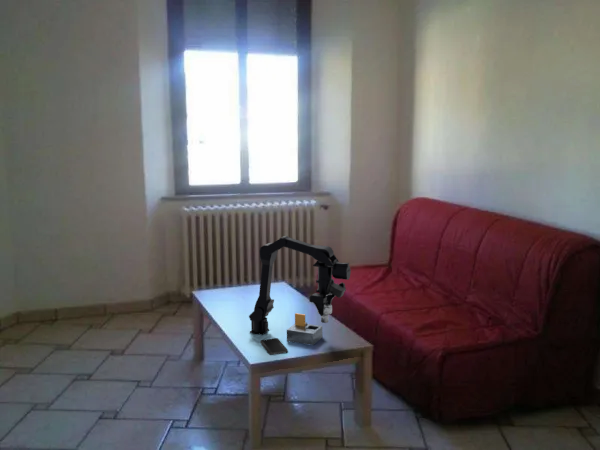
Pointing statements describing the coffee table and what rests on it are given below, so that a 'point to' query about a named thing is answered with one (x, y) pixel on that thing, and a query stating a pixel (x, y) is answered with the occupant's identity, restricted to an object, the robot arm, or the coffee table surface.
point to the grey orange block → (300, 319)
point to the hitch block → (304, 334)
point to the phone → (273, 346)
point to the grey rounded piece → (326, 313)
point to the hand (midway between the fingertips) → (324, 313)
